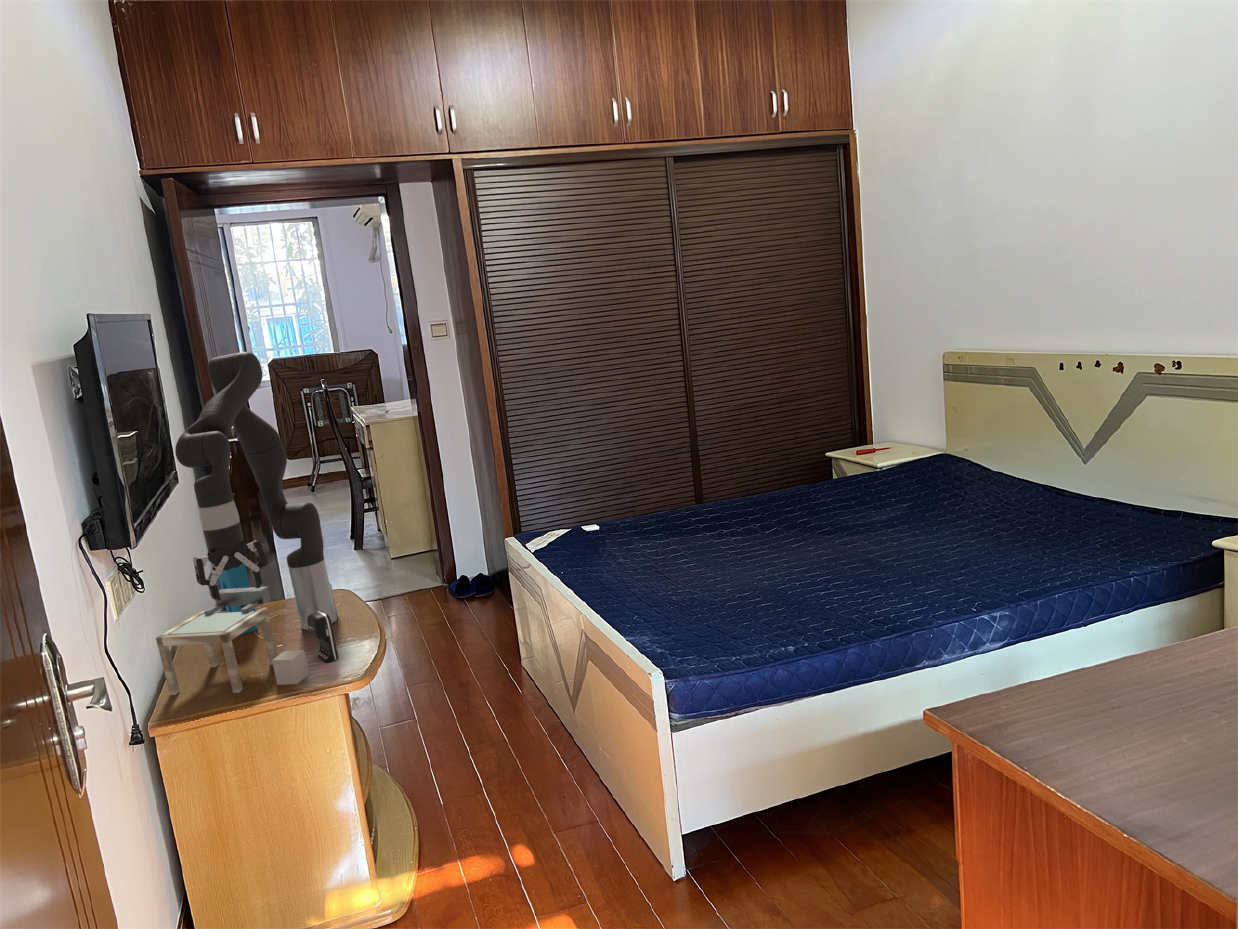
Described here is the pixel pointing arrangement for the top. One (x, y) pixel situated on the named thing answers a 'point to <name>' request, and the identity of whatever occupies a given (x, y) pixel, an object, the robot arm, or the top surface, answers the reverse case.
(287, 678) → the stone block
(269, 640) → the trapdoor frame
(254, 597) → the trapdoor
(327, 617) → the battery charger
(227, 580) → the block
